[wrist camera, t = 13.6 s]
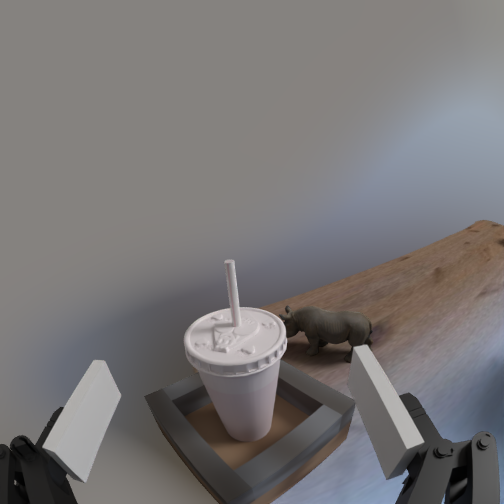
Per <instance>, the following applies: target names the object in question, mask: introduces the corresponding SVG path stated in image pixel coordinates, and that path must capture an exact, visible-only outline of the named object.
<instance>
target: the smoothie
mask: <svg viewBox="0 0 504 504" xmlns="http://www.w3.org/2000/svg"><path fill="white" fill-rule="evenodd" d="M224 263H225V271H226V278H227V286H228V294H229V302H230V308H228V309H223V310H219V311H215V312H212V313H209V314H207V315H205V316H203V317H201V318H199V319H198V320H196V321H195V322H194V323H193V324H192V325H190V327H189V328H188V329H187V331H186V333H185V335H184V345H185V348H186V349H185V352H186V356H187V359H188V360H189V362H190V363H191V364H192V366H194V367H195V368H197V370H198V372H199V375H200V377H201V379H202V381H203V383H204V385H205V387H206V390H207V392H208V394H209V396H210V398H211V400H212V402H213V404H214V406H215V408H216V410H217V413H218V415H219V417H220V419H221V420H222V422H223V424H224V426H225V428H226V430H227V432H228V434H229V435H230V436H231V437H232V438H234V439H236V440H238V441H243V442H252V441H256V440H259V439H261V438H263V437H264V436H265V435H266V434H267V433H268V432H269V430H270V428H271V423H272V416H273V409H274V403H275V396H276V388H277V381H278V374H279V367H280V358H281V357H282V355H283V354H284V352H285V350H286V347H287V338H286V328H285V325H284V323H283V322H282V321H281V319H279V318H278V317H277V316H276V315H274V314H272V313H270V312H267V311H265V310H261V309H256V308H246V307H239V300H238V290H237V282H236V273H235V264H234V260H226V261H225V262H224Z"/></svg>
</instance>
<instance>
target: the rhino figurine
mask: <svg viewBox="0 0 504 504" xmlns="http://www.w3.org/2000/svg"><path fill="white" fill-rule="evenodd" d="M285 310H286V312H287V315H281V314H279V316H280V317H281V319H282V320H285V322H283V323H284V325H285V328H286V338H289V337H293V336H295V335H296V334H297V333H298V332H299V331H301V332H303V331H304V332H305V335H306V336H307V339H308V341H309V343H310V345H311V347H310V348H309V349H308V350H307V352H306V353H307V354H308V355H310V356H312V355H316V354H317V353H318V352H319V350H318V346H324V345H327V344H328V342H329V343H332V344H339V343H343V342H345V341H347V340H348V342H349V344H350V345H351V346H352V348H351V351H350V353H349V354H348V355H346V356H345V360H346V361H349V362H351V361H352V354H353V347H357V346H362V344H364V345H368V347H369V348H370V350H371V352H372V348H371V345H372V344H373V340H372V338H371V337H370V334H371V333H372V324H371V321H370V319H369V318H368V317H367V316H366V315H364V314H363V313H360V312H351V311H341V312H332V311H327V310H323V309H321V308H318V307H314V306H308V307H304V308H301V309H299V310H296V311H292V310H291V308H290V307H289V306H286V308H285Z"/></svg>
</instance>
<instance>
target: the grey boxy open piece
mask: <svg viewBox="0 0 504 504" xmlns="http://www.w3.org/2000/svg"><path fill="white" fill-rule="evenodd" d="M145 399H146V401H147V403H148V405H149V407H150V410H151V412H152V414H153V416H154V418H155V420H156V422H157V424H158V425H159V428H160V429H161V431H162V433H163V435H164V436H165V438H166V439H167V440H168V442H169V443H170V444H171V446H172V447H173V449H174V450H175V451H176V453H177V454H178V455H179V457H180V458H181V459H182V461H183V462H184V463H185V465H186V466H187V467H188V468H189V470H190V471H191V472H192V473H193V475H194V476H195V477H196V478H197V479H198V481H199V482H200V483H201V484H202V485H203V486H204V487H205V489H207V491H208V492H209V493H210V494H211V495H212V496H213V498H214V499H215V500H216V501H217V502H218V503H219V504H270V503H271V502H273V501H274V500H275V499H277V498H278V497H280V496H281V495H282V494H284V493H285V492H286V491H288V490H289V489H290V488H291V487H293V486H294V485H295V484H297V483H298V482H299V481H300V480H302V479H303V478H304V477H305V476H306V475H308V474H309V473H310V472H311V471H312V470H313V469H315V468H316V467H317V466H318V465H319V464H320V463H321V462H322V461H324V460H325V459H326V458H327V457H328V456H329V455H330V454H331V453H332V452H333V451H334V450H335V449H336V448H337V447H338V446H339V445H340V444H341V443H342V442H343V441H344V440H345V439H346V438H347V434H348V431H349V427H350V424H351V420H352V416H353V412H354V408H355V404H356V403H355V401H354V400H353V399H351V398H349V397H347V396H345V395H344V394H342V393H340V392H338V391H336V390H334V389H332V388H330V387H329V386H327V385H325V384H323V383H321V382H319V381H318V380H316V379H314V378H312V377H310V376H309V375H307V374H305V373H303V372H302V371H300V370H298V369H296V368H295V367H293V366H291V365H290V364H288V363H286V362H284V361H283V360H281V359H280V367H279V374H278V381H277V388H276V396H275V403H274V409H273V416H272V423H271V428H270V430H269V432H268V433H267V434H266V435H265V436H264V437H263V438H261V439H259V440H256V441H252V442H243V441H238V440H236V439H234V438H232V437H231V436H230V435H229V434H228V432H227V430H226V428H225V426H224V424H223V422H222V420H221V419H220V417H219V415H218V413H217V410H216V408H215V406H214V404H213V402H212V400H211V398H210V396H209V394H208V392H207V390H206V387H205V385H204V383H203V381H202V379H201V377H200V375H199V372H198V373H195V374H193V375H191V376H189V377H187V378H185V379H183V380H180V381H178V382H176V383H174V384H172V385H169V386H167V387H165V388H163V389H161V390H158V391H156V392H153V393H151V394H149V395H146V396H145Z"/></svg>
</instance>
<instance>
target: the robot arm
mask: <svg viewBox="0 0 504 504" xmlns="http://www.w3.org/2000/svg"><path fill="white" fill-rule="evenodd" d="M347 385H348V387H349V389H350V392H351V394H352V396H353V399H354V401H355V403H356V406H357V408H358V411H359V413H360V415H361V418H362V420H363V422H364V425H365V427H366V430H367V432H368V435H369V437H370V440H371V442H372V444H373V447H374V449H375V452H376V454H377V457H378V459H379V462H380V464H381V467H382V470H383V472H384V475H385V477H386V480H388V479H391V478H394V477H397V476H399V475H402V474H403V473H404V471H405V470H406V469H407V470H408V473H409V475H408V476H407V478H406V479H405V480H404V482H403V483H402V484H404V486H403V488H402V491H401V493H400V495H399V497H398V499H397V501H396V503H395V504H441V502H442V500H443V497H444V494H445V502H444V504H500V484H499V466H498V455H497V447H496V441H495V438H494V436H493V435H492V434H491V433H489V432H484V431H482V432H479V433H477V434H476V435H475V436H474V437H473V438H472V440H469V441H463V442H458V443H452V442H451V441H450V440H447V439H443V438H442V437H441V436H440V434H439V433H438V431H437V429H436V428H435V426H434V425H433V423H432V421H431V420H430V418H429V416H428V415H427V414H426V412H425V410H424V408H422V405H421V404H420V402H419V401H418V399H417V398H416V397H414V396H413V395H412V394H410V393H406V394H403V395H400V396H398V394H397V393H396V391H395V389H394V388H393V386H392V384H391V383H390V381H389V379H388V378H387V376H386V374H385V373H384V371H383V369H382V368H381V366H380V364H379V363H378V361H377V360H376V358H375V356H374V355H373V353H372V352H371V350H370V348H369V347H368V345H362V346H357V347H353V354H352V361H351V367H350V373H349V379H348V384H347ZM120 397H121V394H120V392H119V390H118V388H117V386H116V384H115V382H114V380H113V378H112V375H111V373H110V371H109V369H108V366H107V364H106V362H105V361H102V360H94V361H93V362H92V364H91V366H90V367H89V368H88V370H87V372H86V373H85V375H84V376H83V378H82V379H81V381H80V383H79V384H78V386H77V388H76V389H75V391H74V392H73V394H72V396H71V397H70V399H69V401H68V402H67V404H66V406H65V407H64V408H63V407H60V408H59V409H58V410H56V411H55V412H54V413H53V415H52V417H51V418H50V421H49V422H48V423H47V427H45V429H44V430H43V432H42V434H41V436H40V438H39V439H38V441H37V443H36V445H34V444H33V443H32V442H31V441H30V440H29V439H28V438H27V437H26V436H23V435H22V436H17V437H15V438H14V439H13V440H12V442H11V444H10V449H11V450H12V451H11V450H10V449H9V448H8V446H6V445H4V444H0V504H78V503H77V501H76V499H75V497H74V494H73V492H72V489H71V487H70V484H69V481H68V480H67V478H66V474H69V475H70V476H71V477H72V478H73V479H75V480H78V481H80V482H83V483H86V481H87V478H88V475H89V473H90V470H91V467H92V465H93V462H94V460H95V457H96V455H97V452H98V449H99V447H100V445H101V442H102V439H103V437H104V435H105V432H106V430H107V427H108V425H109V423H110V420H111V418H112V416H113V413H114V411H115V409H116V406H117V404H118V402H119V400H120ZM14 479H15V480H16V485H15V484H14Z"/></svg>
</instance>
